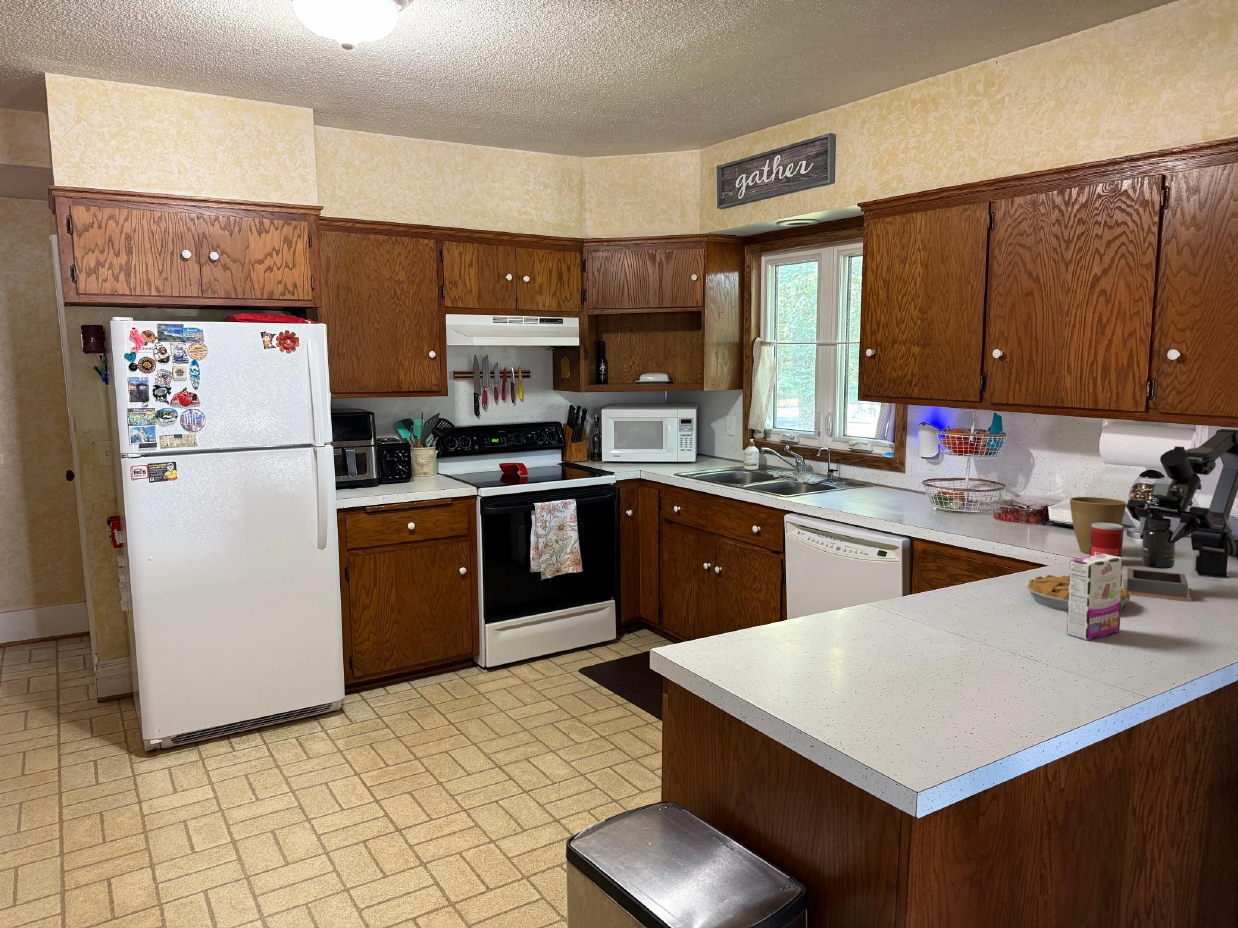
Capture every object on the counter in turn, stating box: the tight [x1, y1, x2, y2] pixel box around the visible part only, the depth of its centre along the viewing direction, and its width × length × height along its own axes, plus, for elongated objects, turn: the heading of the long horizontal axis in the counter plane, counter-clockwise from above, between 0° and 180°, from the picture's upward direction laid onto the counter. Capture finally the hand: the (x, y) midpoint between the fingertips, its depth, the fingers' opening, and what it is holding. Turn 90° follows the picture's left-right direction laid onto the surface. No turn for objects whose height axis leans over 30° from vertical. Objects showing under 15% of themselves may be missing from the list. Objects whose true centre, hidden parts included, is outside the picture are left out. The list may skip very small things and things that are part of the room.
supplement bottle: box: [1141, 516, 1176, 570], centre depth 211 cm, size 7×7×12 cm
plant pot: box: [1069, 496, 1127, 555], centre depth 256 cm, size 15×15×16 cm
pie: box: [1026, 574, 1131, 612], centre depth 203 cm, size 22×22×5 cm
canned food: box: [1089, 523, 1124, 558], centre depth 243 cm, size 8×8×11 cm
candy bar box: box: [1066, 554, 1124, 641], centre depth 179 cm, size 11×5×16 cm, turn 117°
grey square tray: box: [1122, 567, 1192, 602], centre depth 212 cm, size 14×14×4 cm
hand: (1155, 540), depth 211 cm, fingers closed on supplement bottle, 7 cm apart
